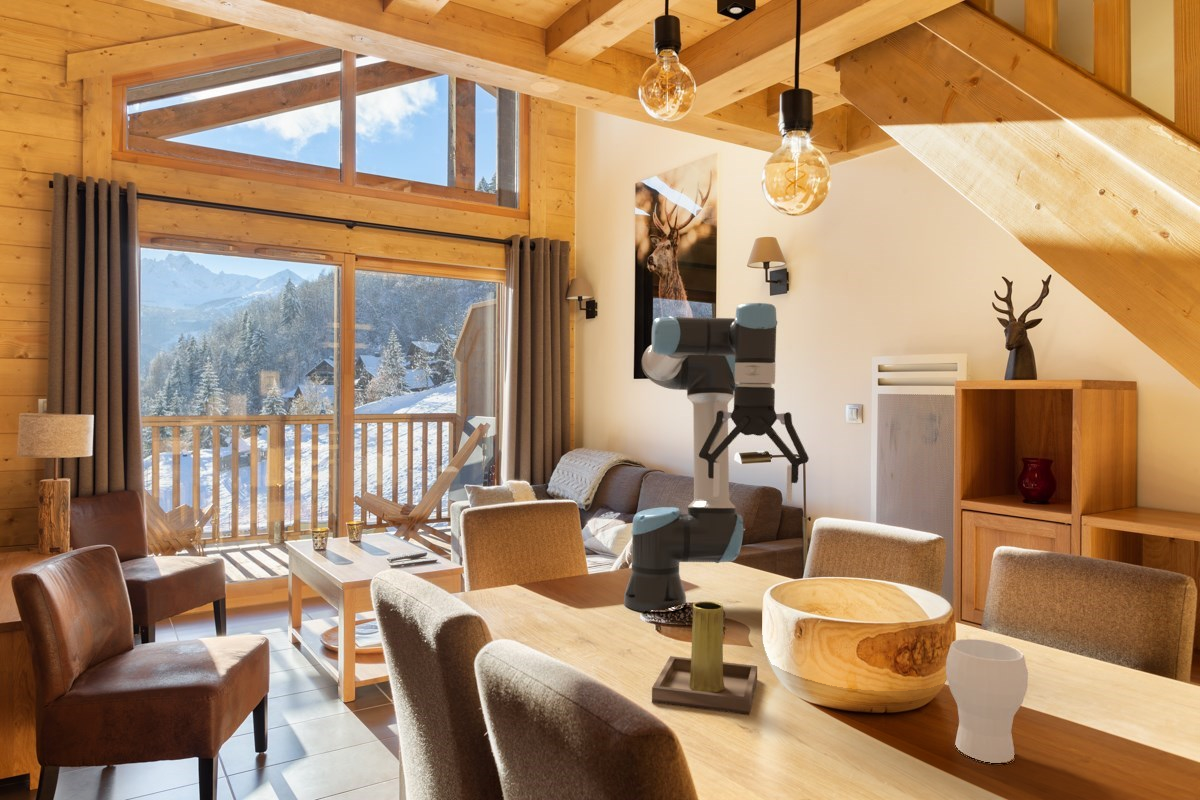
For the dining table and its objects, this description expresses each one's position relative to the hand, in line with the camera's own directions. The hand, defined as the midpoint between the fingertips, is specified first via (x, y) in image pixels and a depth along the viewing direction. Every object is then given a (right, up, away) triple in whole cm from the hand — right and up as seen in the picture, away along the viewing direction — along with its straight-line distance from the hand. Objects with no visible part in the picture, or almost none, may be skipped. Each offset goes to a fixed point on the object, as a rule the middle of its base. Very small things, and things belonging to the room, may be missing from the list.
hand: (752, 498), depth 144 cm
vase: (-10, -32, -12) cm, 35 cm away
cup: (+27, -33, -33) cm, 54 cm away
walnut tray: (-10, -32, -12) cm, 36 cm away
